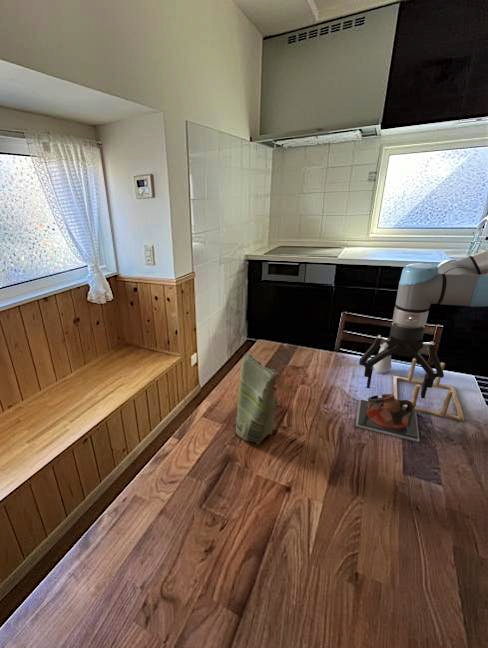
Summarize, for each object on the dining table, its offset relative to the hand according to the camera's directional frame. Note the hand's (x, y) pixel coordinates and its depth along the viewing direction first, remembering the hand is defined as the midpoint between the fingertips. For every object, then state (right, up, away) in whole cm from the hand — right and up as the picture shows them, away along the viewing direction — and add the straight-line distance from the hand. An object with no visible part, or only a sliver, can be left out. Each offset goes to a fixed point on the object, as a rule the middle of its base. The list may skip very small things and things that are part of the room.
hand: (394, 390), depth 98 cm
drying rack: (+19, -4, +14) cm, 24 cm away
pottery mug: (0, -9, +4) cm, 10 cm away
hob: (0, -10, +5) cm, 11 cm away
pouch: (-40, -13, +3) cm, 42 cm away
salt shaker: (+13, +3, +30) cm, 33 cm away
